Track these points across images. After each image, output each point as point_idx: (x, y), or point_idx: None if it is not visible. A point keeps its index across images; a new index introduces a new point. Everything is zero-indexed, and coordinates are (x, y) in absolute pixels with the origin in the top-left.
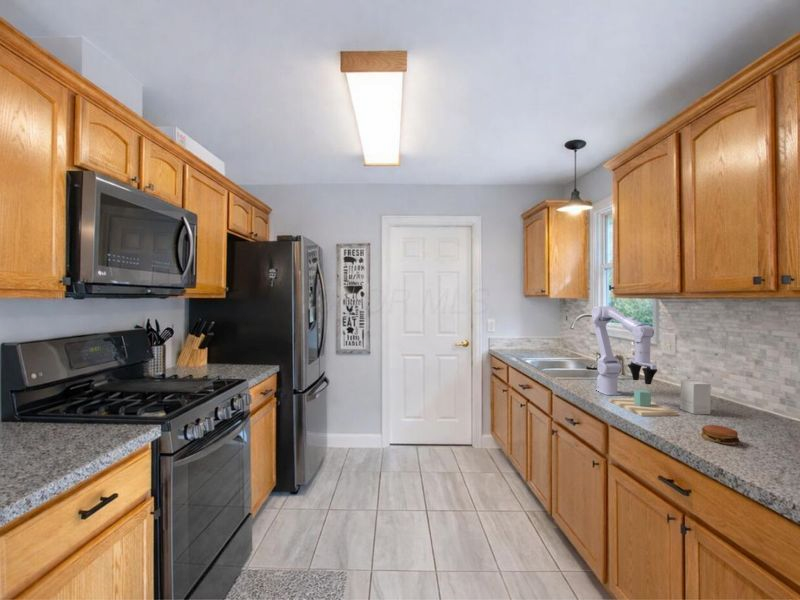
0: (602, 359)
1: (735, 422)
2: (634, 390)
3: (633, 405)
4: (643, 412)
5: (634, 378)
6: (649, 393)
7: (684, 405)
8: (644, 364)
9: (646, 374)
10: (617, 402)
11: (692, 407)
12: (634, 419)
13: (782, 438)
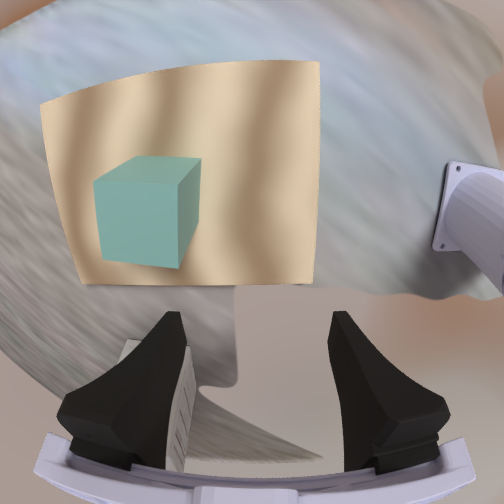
0: None
1: (81, 370)
2: (171, 182)
3: (150, 125)
4: (41, 115)
5: (336, 324)
6: (102, 246)
7: None
8: (108, 485)
9: (107, 372)
10: (227, 62)
11: (124, 356)
12: (18, 55)
13: (11, 354)
